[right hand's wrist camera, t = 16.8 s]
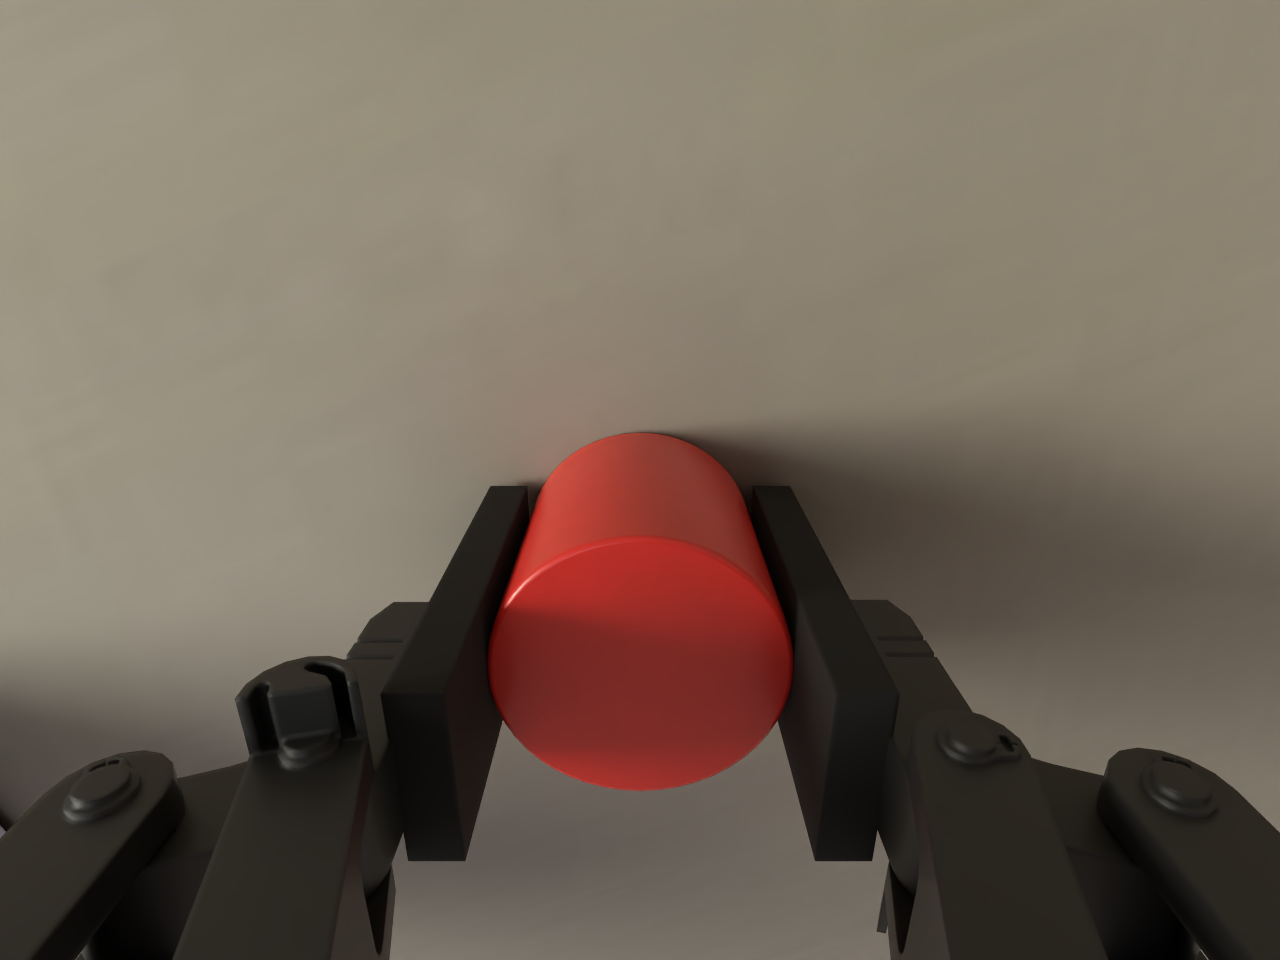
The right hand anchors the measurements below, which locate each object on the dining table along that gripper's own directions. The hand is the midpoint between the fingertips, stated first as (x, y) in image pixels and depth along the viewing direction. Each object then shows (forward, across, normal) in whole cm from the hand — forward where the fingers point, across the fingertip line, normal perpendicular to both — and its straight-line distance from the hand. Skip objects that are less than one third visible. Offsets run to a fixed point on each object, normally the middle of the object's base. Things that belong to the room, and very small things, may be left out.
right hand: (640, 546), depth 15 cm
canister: (0, 0, 0) cm, 0 cm away
